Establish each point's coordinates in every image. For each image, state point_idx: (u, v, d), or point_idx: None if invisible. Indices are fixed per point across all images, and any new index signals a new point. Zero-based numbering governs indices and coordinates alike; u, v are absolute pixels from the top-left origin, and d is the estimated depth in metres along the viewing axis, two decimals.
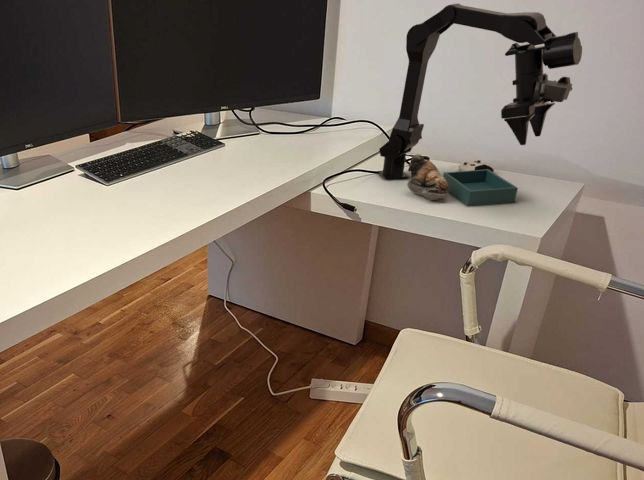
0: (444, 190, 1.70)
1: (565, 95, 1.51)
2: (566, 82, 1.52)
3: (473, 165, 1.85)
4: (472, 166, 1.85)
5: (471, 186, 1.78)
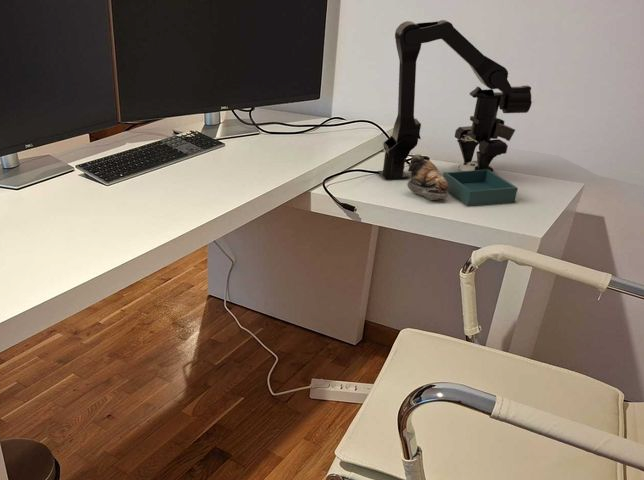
0: (444, 190, 1.70)
1: None
2: (503, 123, 1.83)
3: (473, 165, 1.85)
4: (472, 166, 1.85)
5: (471, 186, 1.78)
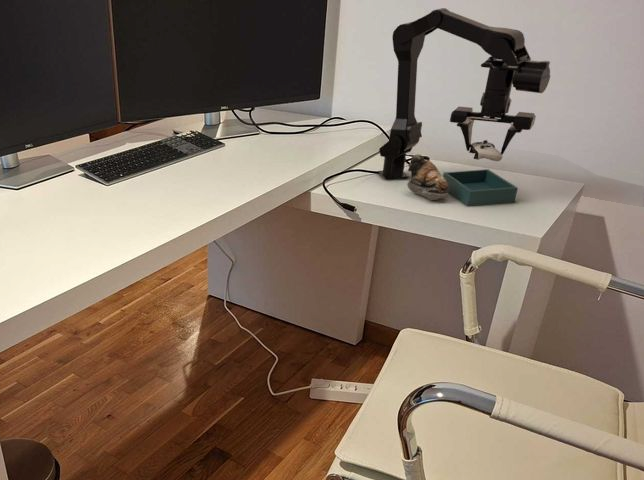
0: (444, 190, 1.70)
1: None
2: None
3: (489, 146, 1.67)
4: (491, 147, 1.66)
5: (471, 186, 1.78)
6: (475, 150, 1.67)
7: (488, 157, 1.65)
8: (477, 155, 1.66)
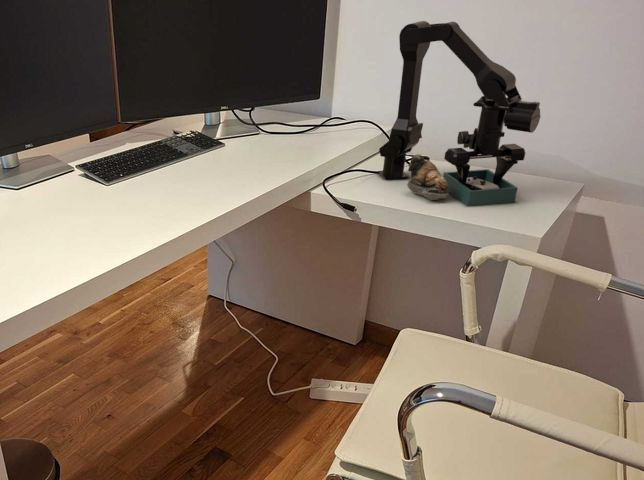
0: (444, 190, 1.70)
1: None
2: None
3: (484, 181, 1.72)
4: (487, 182, 1.72)
5: None
6: (478, 188, 1.70)
7: None
8: None
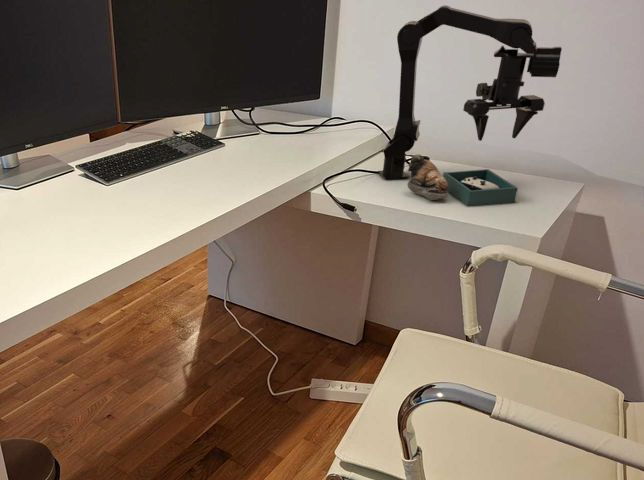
0: (444, 190, 1.70)
1: None
2: None
3: (484, 181, 1.72)
4: (487, 182, 1.72)
5: None
6: (478, 188, 1.70)
7: None
8: None
